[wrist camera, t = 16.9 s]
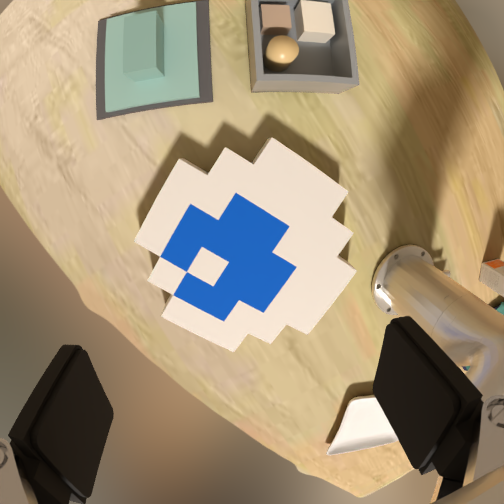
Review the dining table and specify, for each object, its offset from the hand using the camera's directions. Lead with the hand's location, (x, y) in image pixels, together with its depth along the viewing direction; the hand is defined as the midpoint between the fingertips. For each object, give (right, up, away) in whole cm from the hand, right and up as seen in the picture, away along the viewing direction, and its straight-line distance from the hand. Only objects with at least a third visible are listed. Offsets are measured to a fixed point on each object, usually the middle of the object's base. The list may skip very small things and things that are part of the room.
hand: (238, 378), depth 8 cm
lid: (-13, +30, +23) cm, 40 cm away
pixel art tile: (0, +4, +34) cm, 35 cm away
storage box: (+6, +31, +25) cm, 41 cm away
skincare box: (+50, 0, +40) cm, 64 cm away
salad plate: (+29, -35, +51) cm, 68 cm away
